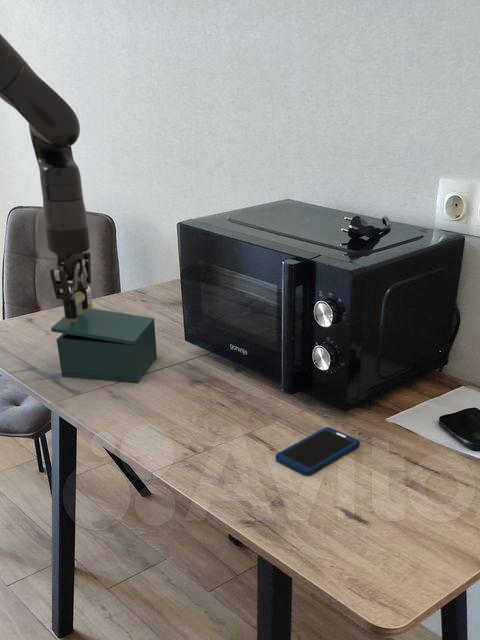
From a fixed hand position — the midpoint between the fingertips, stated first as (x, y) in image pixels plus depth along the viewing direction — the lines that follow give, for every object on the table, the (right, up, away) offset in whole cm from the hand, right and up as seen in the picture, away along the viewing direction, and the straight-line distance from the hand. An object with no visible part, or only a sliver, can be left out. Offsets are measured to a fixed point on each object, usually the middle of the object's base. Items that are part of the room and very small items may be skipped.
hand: (77, 312), depth 138 cm
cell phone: (+46, -28, -22) cm, 58 cm away
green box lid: (+5, -3, +1) cm, 6 cm away
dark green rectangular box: (+5, -10, +5) cm, 12 cm away
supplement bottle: (-6, +5, +28) cm, 29 cm away
